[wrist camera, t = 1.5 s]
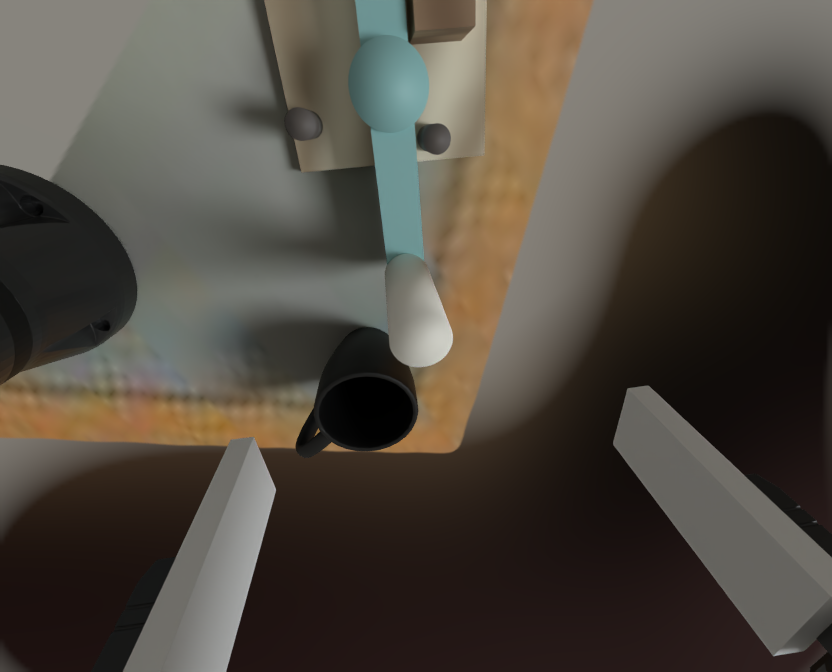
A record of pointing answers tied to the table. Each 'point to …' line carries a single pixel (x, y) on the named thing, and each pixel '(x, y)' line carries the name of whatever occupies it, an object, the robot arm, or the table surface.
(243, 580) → the robot arm
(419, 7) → the walnut block
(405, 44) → the lever
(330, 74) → the press base
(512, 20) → the table surface
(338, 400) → the mug
